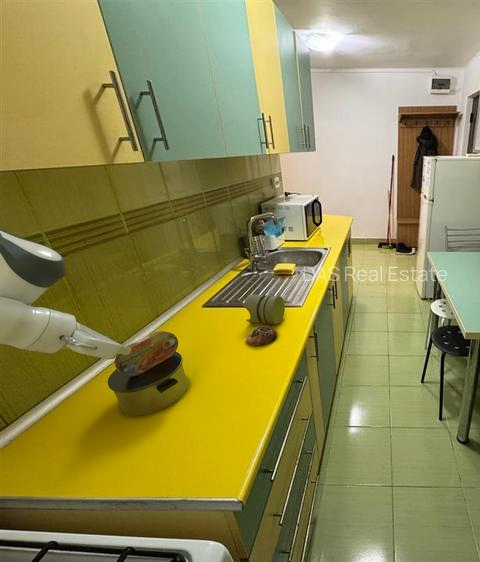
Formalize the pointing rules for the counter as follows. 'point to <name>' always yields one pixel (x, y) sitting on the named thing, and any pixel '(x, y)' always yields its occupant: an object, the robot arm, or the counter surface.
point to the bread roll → (261, 335)
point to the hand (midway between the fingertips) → (119, 346)
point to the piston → (265, 309)
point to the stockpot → (150, 387)
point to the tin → (147, 353)
